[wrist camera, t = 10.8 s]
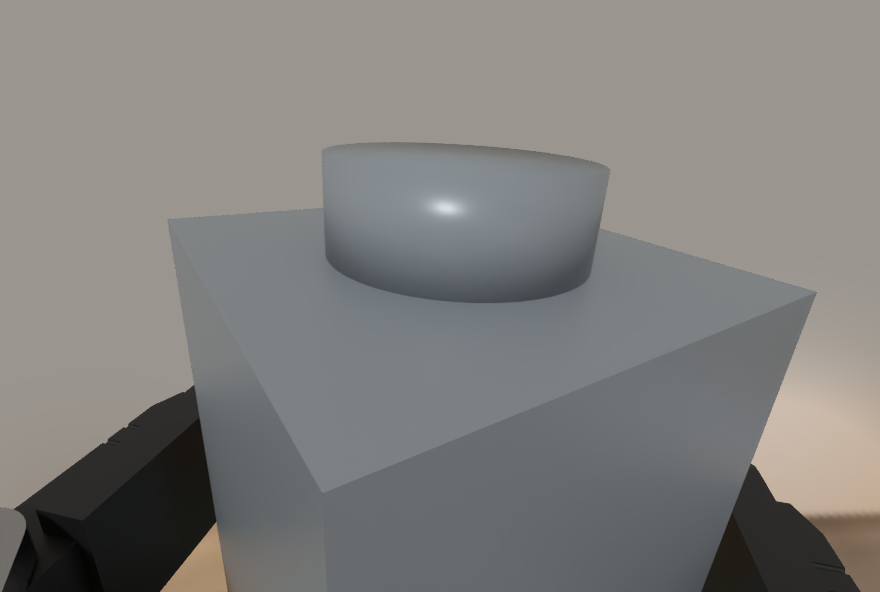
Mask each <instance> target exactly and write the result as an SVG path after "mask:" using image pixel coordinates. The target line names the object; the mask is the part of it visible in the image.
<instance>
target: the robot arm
mask: <svg viewBox="0 0 880 592" xmlns="http://www.w3.org/2000/svg"><path fill="white" fill-rule="evenodd" d="M215 523H216V515H215V509H214V503H213V497H212V490H211V484H210V478H209V472H208V466H207V460H206V454H205V447H204V441H203V435H202V429H201V423H200V417H199V410H198V404H197V398H196V392H195V386H192V387H191V388H190V389H189V390H187V391H186V392H185V393H184V392H182V393H180V394H177V395H175V396H173V397H171V398H168V399H166V400H164V401H162V402H160V403H157V404H155V405H153V406H151V407H150V408H149V409H147V410H146V411H145V412H143V413H142V414H141V415H139V416H138V417H137V418H135V419H134V420H133V421H131V422H130V423H129V425H128V427H127V428H122V429H121V430H119V431H118V432H117V433H115V434H114V435H113V436H112V437H110V438H109V439H108V442H107V443H106V444H104V443H102V444H101V445H99V446H98V447H97V448H95V449H94V450H93V451H91V452H90V453H89V454H87V455H86V456H85V457H84V458H82V459H81V460H79V461H78V462H77V463H75V464H74V465H73V466H71V467H70V468H69V469H67V470H66V471H65V472H63V473H62V474H61V475H59V476H58V477H57V478H55V479H54V480H53V481H51V482H50V483H49V484H47V485H46V486H45V487H43V488H42V489H41V490H39V491H38V492H37V493H35V494H34V495H32V496H31V497H30V498H28V499H27V500H26V501H25V502H23V503H22V504H20V505H19V506H18V507H16V508H15V509H9V508H0V592H160V591H161V590H162V589H163V587H164V586H165V585H166V584H167V582H168V581H169V580H170V579H171V577H172V576H173V575H174V574H175V572H176V571H177V570H178V569H179V567H180V566H181V565H182V564H183V562H184V561H185V560H186V559H187V557H188V556H189V555H190V554H191V553H192V551H193V550H194V549H195V548H196V546H197V545H198V544H199V543H200V541H201V540H202V539H203V538H204V536H205V535H206V534H207V533H208V531H209V530H210V529H211V528H212V526H213V525H214V524H215ZM701 592H860V590H859V589H858V587H857V586H856V584H855V583H854V581H853V580H852V578H851V576H850V575H847V574H845V567H844V566H843V564H842V563H841V561H840V559H839V558H838V556H837V555H836V553H835V552H834V550H833V549H832V547H831V546H830V544H829V543H828V541H827V539H826V538H825V536H824V535H823V534H822V533H821V532H820V531H819V530H818V529H817V528H816V527H815V526H814V525H813V524H811V523H810V522H809V521H808V520H807V519H806V518H805V517H804V516H803V515H802V514H801V513H800V512H798V511H797V510H796V509H795V508H794V507H793V506H792V505H791V504H788V503H782V502H777V501H776V500H775V499H774V497H773V495H772V493H771V492H770V490H769V488H768V487H767V485H766V483H765V482H764V480H763V478H762V477H761V475H760V473H759V471H758V470H757V469H756V467H755V466H754V465H752V464H750V467H749V469H748V472H747V474H746V477H745V480H744V482H743V485H742V487H741V490H740V492H739V495H738V498H737V500H736V503H735V505H734V508H733V511H732V513H731V516H730V518H729V521H728V524H727V526H726V529H725V531H724V534H723V536H722V539H721V542H720V544H719V547H718V549H717V552H716V555H715V557H714V560H713V562H712V565H711V568H710V570H709V573H708V575H707V578H706V580H705V583H704V586H703V588H702V591H701Z"/></svg>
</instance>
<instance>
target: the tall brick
mask: <svg viewBox="0 0 880 592" xmlns="http://www.w3.org/2000/svg"><path fill="white" fill-rule="evenodd" d="M322 173H323V174H322V176H323V205H324V208H318V209H304V210H290V211H277V212H263V213H249V214H235V215H222V216H209V217H195V218H181V219H168V225H169V232H170V238H171V244H172V250H173V257H174V263H175V269H176V275H177V281H178V287H179V294H180V300H181V306H182V312H183V317H184V324H185V330H186V336H187V343H188V349H189V355H190V361H191V367H192V374H193V380H194V386H195V392H196V398H197V404H198V410H199V417H200V423H201V429H202V435H203V441H204V447H205V454H206V460H207V466H208V472H209V478H210V484H211V490H212V497H213V503H214V509H215V515H216V521H217V527H218V534H219V540H220V546H221V552H222V558H223V564H224V571H225V577H226V583H227V589H228V592H701V591H702V588H703V586H704V583H705V580H706V578H707V575H708V573H709V570H710V568H711V565H712V562H713V560H714V557H715V555H716V552H717V549H718V547H719V544H720V542H721V539H722V536H723V534H724V531H725V529H726V526H727V524H728V521H729V518H730V516H731V513H732V511H733V508H734V505H735V503H736V500H737V498H738V495H739V492H740V490H741V487H742V485H743V482H744V480H745V477H746V474H747V472H748V469H749V467H750V464H751V461H752V459H753V456H754V454H755V451H756V448H757V446H758V443H759V441H760V438H761V436H762V433H763V430H764V427H765V425H766V423H767V420H768V417H769V415H770V412H771V410H772V407H773V404H774V402H775V399H776V397H777V394H778V391H779V389H780V386H781V384H782V381H783V379H784V376H785V373H786V371H787V368H788V366H789V363H790V360H791V358H792V355H793V353H794V350H795V348H796V345H797V342H798V340H799V337H800V335H801V332H802V329H803V327H804V324H805V322H806V319H807V316H808V314H809V311H810V309H811V306H812V303H813V301H814V298H815V296H816V293H817V292H814V291H811V290H808V289H805V288H801V287H798V286H794V285H791V284H787V283H784V282H780V281H777V280H774V279H770V278H766V277H763V276H760V275H757V274H753V273H750V272H746V271H743V270H739V269H736V268H733V267H729V266H726V265H723V264H719V263H716V262H712V261H709V260H705V259H702V258H699V257H695V256H692V255H688V254H685V253H682V252H678V251H675V250H672V249H668V248H665V247H661V246H658V245H654V244H651V243H647V242H644V241H641V240H637V239H634V238H631V237H627V236H624V235H620V234H617V233H614V232H610V231H606V230H603V229H600V228H599V227H600V222H601V217H602V211H603V206H604V201H605V195H606V190H607V185H608V180H609V174H610V169H609V168H608V167H606V166H604V165H602V164H599V163H596V162H592V161H588V160H584V159H579V158H574V157H569V156H563V155H557V154H549V153H542V152H535V151H527V150H517V149H508V148H498V147H486V146H473V145H457V144H438V143H437V144H436V143H398V142H396V143H395V142H393V143H357V144H345V145H337V146H332V147H328V148H325V149H323V150H322Z"/></svg>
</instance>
